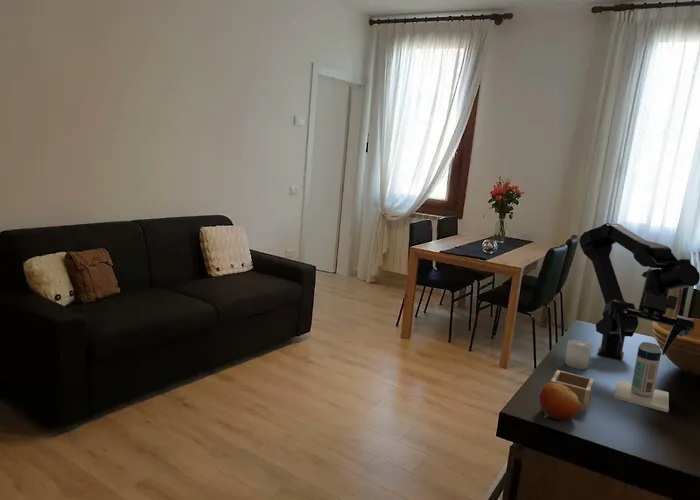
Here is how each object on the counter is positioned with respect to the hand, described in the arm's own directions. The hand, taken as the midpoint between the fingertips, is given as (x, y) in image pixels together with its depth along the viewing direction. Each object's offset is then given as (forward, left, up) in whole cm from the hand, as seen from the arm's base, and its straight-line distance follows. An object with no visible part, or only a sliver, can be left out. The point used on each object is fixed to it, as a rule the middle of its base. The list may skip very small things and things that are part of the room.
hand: (642, 348), depth 134 cm
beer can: (+8, +2, -9) cm, 12 cm away
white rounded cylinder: (-4, -14, -9) cm, 18 cm away
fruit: (+32, -13, -10) cm, 36 cm away
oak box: (+22, -12, -9) cm, 27 cm away
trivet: (+8, +2, -9) cm, 13 cm away
